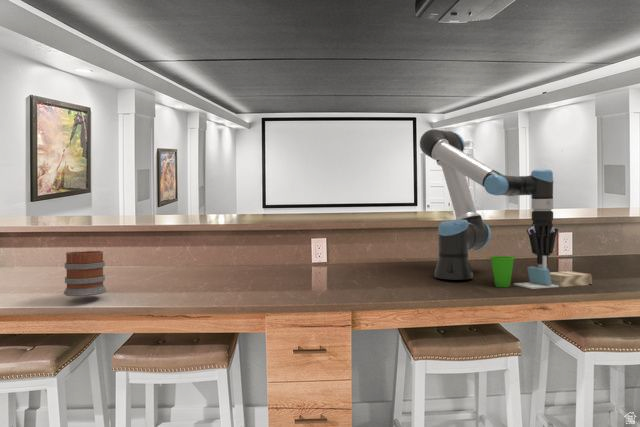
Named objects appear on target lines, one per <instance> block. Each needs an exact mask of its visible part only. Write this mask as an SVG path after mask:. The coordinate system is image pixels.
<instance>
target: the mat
mask: <svg viewBox="0 0 640 427" xmlns="http://www.w3.org/2000/svg"><path fill="white" fill-rule="evenodd" d="M513 285H514V286H515V287H516V286H518V287H522V288H527V289H531V290H535V289H536V290H537V289H551V288H560V287H559V285H554V284H552V285H549V286H545V285H540V284H535V283H530V281H529V282H514V283H513Z"/></svg>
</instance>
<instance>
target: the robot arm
mask: <svg viewBox="0 0 640 427" xmlns="http://www.w3.org/2000/svg"><path fill="white" fill-rule="evenodd" d="M419 147H420V150H421V152H422V153H423V154H424V155H426V156H427V157H429V158H431V159H433V160H434V161H435V162H436V164H437V166H439V167H441V169H442V172H443V177H444V180H445V183H446V184H445V185H446V188H447V191H448V193H449V194H448V195H449V197H450V201H451V203H452V208H453V211H454V215H455V219H451V220H450V219H449V220H444V221H441V222H440V223H438V232H437V234H438V260H437V263H436V266H435V269H434V278H437V279H440V280H441V279H442V280H452V281H453V280H454V281H457V280H459V281H460V280H461V281H462V280H471V279H473V278H474V272H473V269H472V266H471V264H470V260H469V251H477V250H481V249H483V248H485V247H486V246H488V244H489V243H490V241H491V239H492V231H491V227H490V226H489V225H488V224H487V223H486V222H484V221H483V218H482V215H481V214H480V213H478V212H477V211H476V208H475V205H474V200H473V198H472V197H473V196H472V194H471V190H470V187H469V184H468V181H467V180H468V179H470V180H472V181H473V182H475V183H476V184H478V185H480V186H481V187H484V189H485V191H486V192H487V194H490V195H493V196H506V197H507V196H508V197H515V196H531V210H532V211H531V220H532V225H531V227H530V228H527V229H526V233H527V235H528V238H529V244H530V248H531V253H532V255H535V256H536V263H537V265H538V266H537V267H540V268H546V269H548V267H547V266H548V264H549V256H551V255H552V254H553V252H554V247H555V241H556V236H557V234H558V232H559V229H558V228H556V227H554V224H553V223H552V222H553V221H554V212H553V211H552V210H554V182H555V181H554V174H553V173H554V172H553V170H551V169H546V168H545V169H533V170H532V171H531V174H530V175H522V176H520V175H519V176H518V175H516V176H515V175H505V174H502V173H500V172H499V171H497V170H495V169H493V168H491V167H490V166H488V165H486V164H485V163H483V162H481V161H479V159H477V158H474V157H473V156H471V155H469V154H467V153H466V152H464V150H465V140H464V139H463V137H462V136H461V134H458V133H457V132H454V131H452V130H451V131H450V130H441V129H434V128H432V129H429V130H427V131H425V132H424V133H423V134H422V135H421V136H420V140H419ZM467 178H468V179H467Z"/></svg>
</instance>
